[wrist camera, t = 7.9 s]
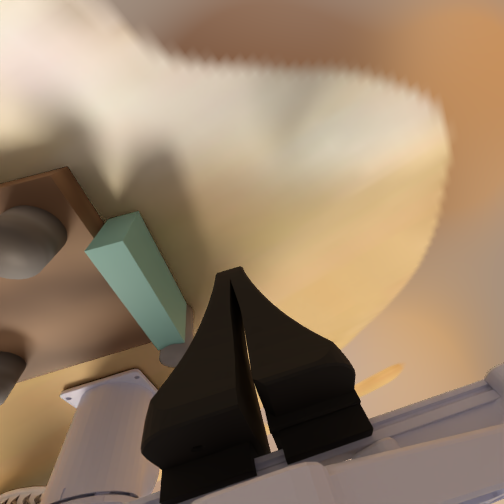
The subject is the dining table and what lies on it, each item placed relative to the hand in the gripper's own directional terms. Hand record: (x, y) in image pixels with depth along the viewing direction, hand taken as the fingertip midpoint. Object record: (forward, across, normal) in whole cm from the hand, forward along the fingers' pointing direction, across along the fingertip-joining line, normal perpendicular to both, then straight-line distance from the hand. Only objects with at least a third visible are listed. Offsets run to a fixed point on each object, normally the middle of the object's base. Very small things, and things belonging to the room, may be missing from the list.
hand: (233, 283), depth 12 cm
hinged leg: (+6, +6, +3) cm, 9 cm away
